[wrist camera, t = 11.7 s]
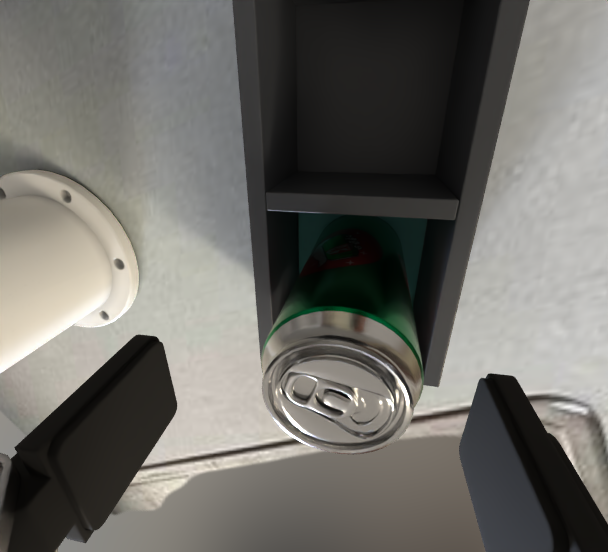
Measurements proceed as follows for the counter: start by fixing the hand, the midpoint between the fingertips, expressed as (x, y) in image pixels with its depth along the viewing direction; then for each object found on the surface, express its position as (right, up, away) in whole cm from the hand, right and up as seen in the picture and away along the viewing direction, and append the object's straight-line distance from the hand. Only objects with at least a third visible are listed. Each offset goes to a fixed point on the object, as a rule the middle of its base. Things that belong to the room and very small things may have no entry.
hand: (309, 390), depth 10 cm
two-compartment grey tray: (+3, +9, +9) cm, 13 cm away
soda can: (+3, +5, +10) cm, 12 cm away
